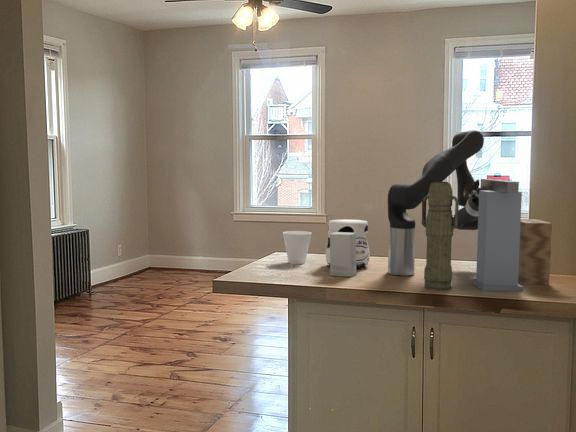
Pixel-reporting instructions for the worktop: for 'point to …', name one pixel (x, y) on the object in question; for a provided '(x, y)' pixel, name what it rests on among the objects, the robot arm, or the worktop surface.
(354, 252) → the skincare box
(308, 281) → the worktop surface
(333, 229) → the milk container
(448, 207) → the thermos
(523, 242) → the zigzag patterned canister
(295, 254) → the cup
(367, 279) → the worktop surface
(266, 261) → the worktop surface
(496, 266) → the gray pedestal
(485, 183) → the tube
